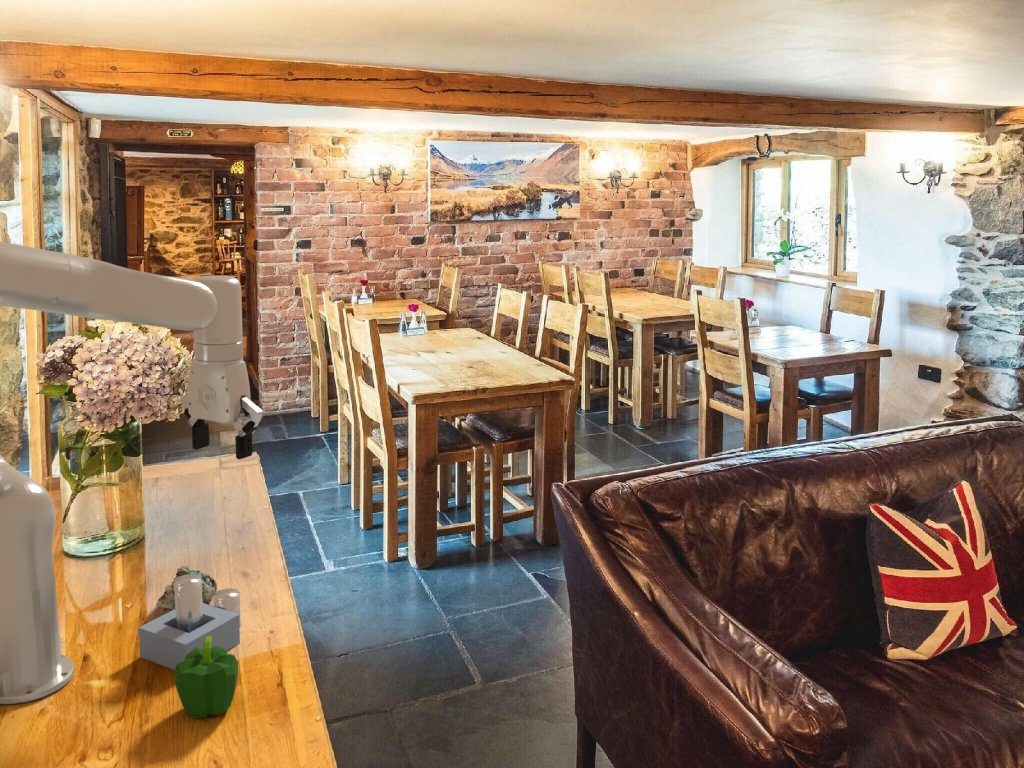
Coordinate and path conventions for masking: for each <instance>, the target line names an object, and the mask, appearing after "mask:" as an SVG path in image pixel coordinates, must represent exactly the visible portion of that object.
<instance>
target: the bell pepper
mask: <svg viewBox="0 0 1024 768" xmlns="http://www.w3.org/2000/svg"><path fill="white" fill-rule="evenodd" d="M211 642H212V637H211V636H207V637H206V638H205V640H204V647H203V649H202V648H194V649H193V650H192V651H191V652H189V653H188V654H187V655H186V657H185V660H184V661H181V662H179V663H177V666H176V668H175V670H173V675H174V685H175V688H176V691H177V694H178V697H179V700H180V702H181V705H182V707H183V709H184V712H185V713H186V714H187V715H188V716H190V717H192V718H195V719H203V718H206V717H208V716H209V715H210V716H219V715H222V714H224V713H225V712H226V711H228V710H229V708H230V707H231V705H232V702H233V700H234V696H235V692H236V688H237V684H238V683H237V682H238V677H239V661H238V660H237V658H236V656H235V655H234V654H233V653H228V652H227V651H226V650H224V649H223V648H221V647H220V646H218V645H217V646H214V647H211Z"/></svg>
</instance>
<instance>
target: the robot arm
mask: <svg viewBox="0 0 1024 768" xmlns="http://www.w3.org/2000/svg"><path fill="white" fill-rule="evenodd" d="M242 301H243V300H242V285H241V282H240V281H239V280H238V278H236V277H233V276H231V275H214V274H213V275H203V276H199V277H182V276H181V277H179V276H168V275H161V274H155V273H151V272H146V271H140V270H138V269H137V270H136V269H132V268H127V267H123V266H121V265H116V264H113V263H111V262H107V261H103V260H99V259H95V258H91V257H85V256H81V255H75V254H69V253H65V252H58V251H53V250H48V249H42V248H39V247H38V248H37V247H32V246H28V245H22V244H17V243H16V244H15V243H11V242H6V241H0V306H1V307H8V308H16V309H25V310H33V311H39V312H47V313H53V314H58V315H59V314H60V315H64V316H65V315H67V316H72V317H80V318H86V319H90V320H91V319H92V320H99V321H101V320H102V321H114V322H124V323H130V324H131V323H132V324H137V325H143V326H151V327H159V328H165V329H172V330H179V331H186V332H187V331H188V332H193V339H194V340H193V344H192V348H193V349H194V358H192V359H191V362H190V365H189V372H188V384H187V394H184V395H183V396H180V399H179V400H180V403H181V406H182V408H183V413H184V415H185V417H186V418H187V420H188V425H189V426H190V427H191V440H192V441H191V445H192V449H193V450H195V451H196V450H200V449H202V448H207V447H208V446H210V425H209V422H211V423H215V424H220V425H221V424H222V425H232V427H233V428H234V429H235V431H236V434H238V435H235V441H234V442H235V458H236V459H237V460H242V459H247V458H248V457H252V456H253V434H255V432H256V429H257V428H258V427H259V426H260V424H261V423H260V422H261V420H262V419H263V416H264V411H263V410H262V408H260V407H259V406H258V405H256V403H254V402H253V401H252V399H251V398H252V397H251V387H250V380H249V375H248V374H249V373H248V369H247V364H246V361H245V360H244V342H243V339H244V338H243V310H242V309H243V308H242V304H243V303H242ZM242 424H243V425H244V426H243V425H242ZM55 526H56V509H55V504H54V501H53V499H52V497H51V495H50V493H49V492H48V490H47V489H46V488H45V486H43V485H42V484H41V483H39V481H37V480H36V479H34V478H32V477H30V475H29V476H28V475H27V474H25V473H24V472H21V471H19V470H18V469H16V468H15V467H13V466H12V465H11V464H9V462H8V461H7V460H6V459H5V458H4V457H3V456H2V455H1V454H0V705H14V704H21V703H22V704H23V703H26V702H27V703H28V702H31V701H32V702H33V701H36V700H39V699H41V698H44V697H47V696H49V695H51V694H53V693H54V692H56V691H59V690H60V689H62V688H63V687H64V686H66V684H68V683H69V682H70V680H71V679H72V678H73V676H74V673H75V664H74V662H73V660H72V659H71V658H70V657H68V656H67V655H64V654H62V650H61V639H60V638H61V637H60V625H59V614H58V613H59V612H58V611H59V610H58V601H57V589H56V577H55V575H56V574H55V567H54V566H55V565H54V535H55Z"/></svg>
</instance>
